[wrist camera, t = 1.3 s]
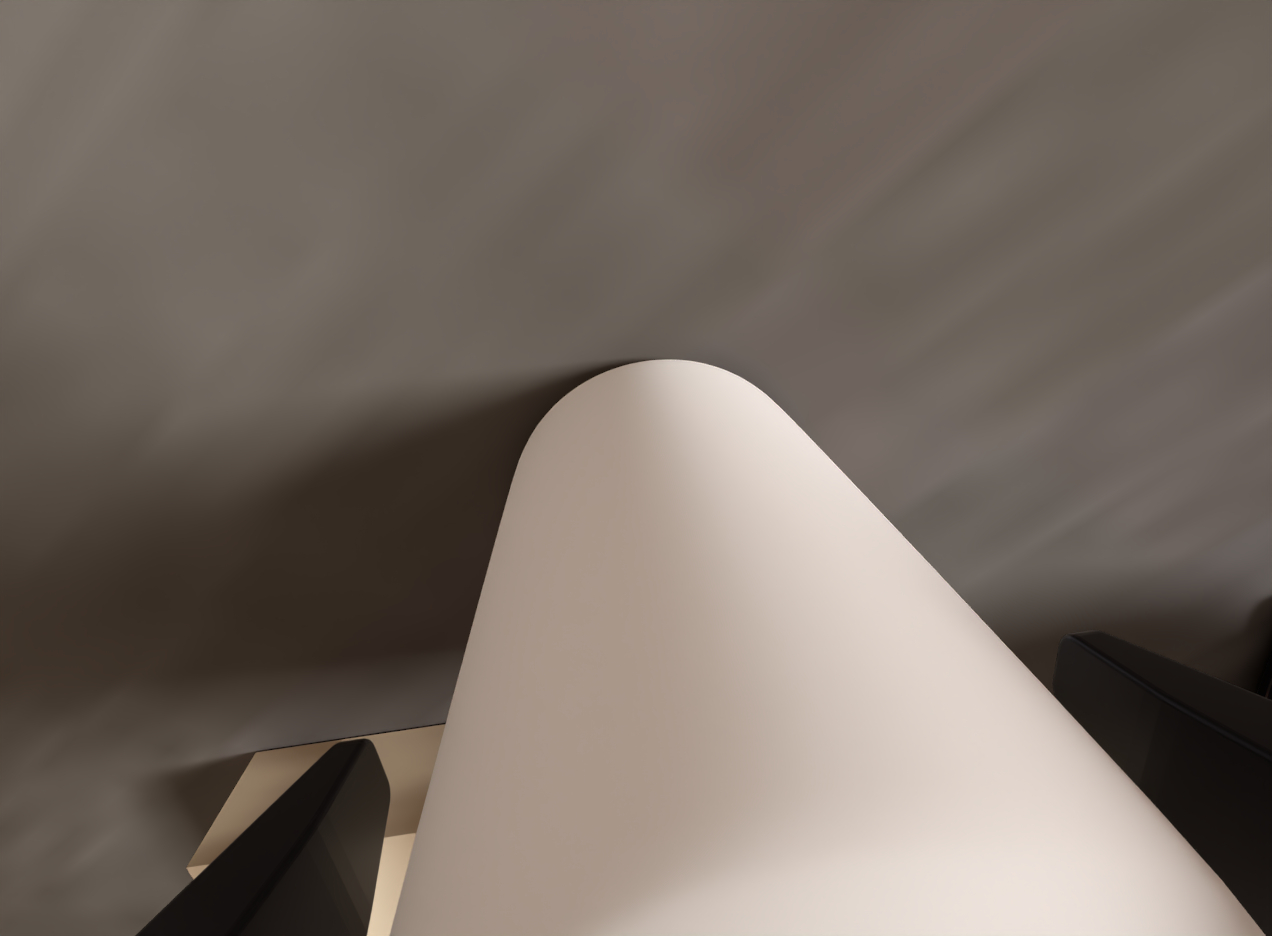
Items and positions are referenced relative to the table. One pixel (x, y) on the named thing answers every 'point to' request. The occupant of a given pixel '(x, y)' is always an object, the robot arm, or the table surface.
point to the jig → (277, 770)
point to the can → (758, 713)
